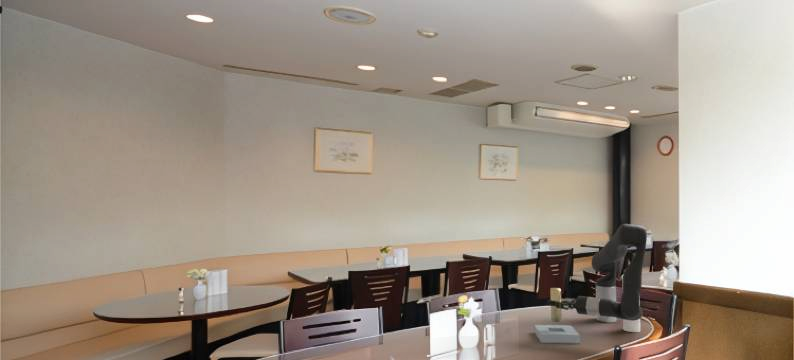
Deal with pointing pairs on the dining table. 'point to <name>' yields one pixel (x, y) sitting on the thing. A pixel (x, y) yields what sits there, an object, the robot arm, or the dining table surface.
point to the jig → (556, 334)
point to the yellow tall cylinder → (555, 312)
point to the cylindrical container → (629, 324)
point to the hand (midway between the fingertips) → (549, 301)
